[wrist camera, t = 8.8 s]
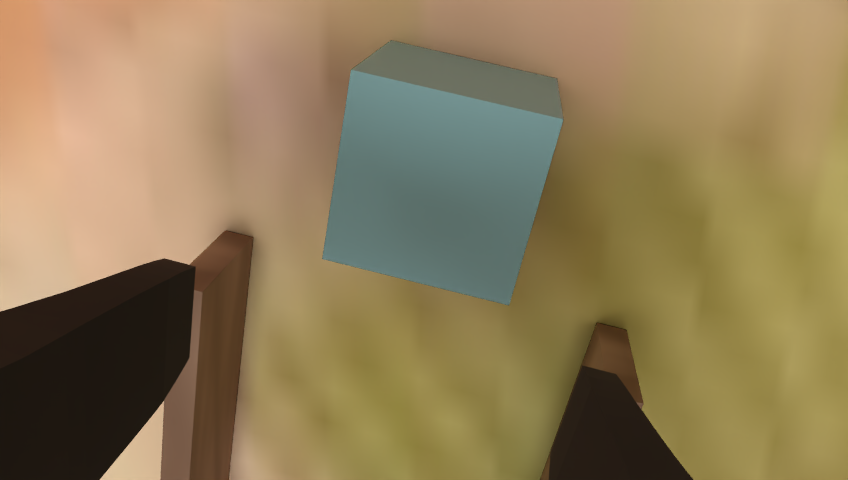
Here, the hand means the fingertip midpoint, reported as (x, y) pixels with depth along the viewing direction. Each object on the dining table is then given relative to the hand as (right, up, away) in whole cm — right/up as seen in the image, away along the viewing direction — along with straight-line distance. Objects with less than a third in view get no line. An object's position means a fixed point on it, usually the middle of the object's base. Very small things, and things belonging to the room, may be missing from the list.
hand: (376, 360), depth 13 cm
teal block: (+2, +5, +9) cm, 10 cm away
